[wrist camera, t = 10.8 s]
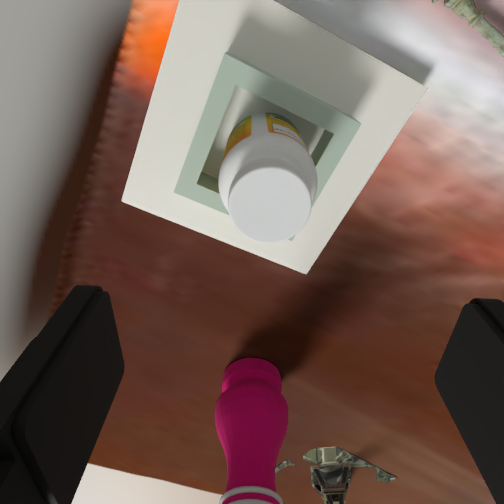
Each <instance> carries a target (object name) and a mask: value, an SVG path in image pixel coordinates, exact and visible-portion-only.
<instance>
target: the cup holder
mask: <svg viewBox="0 0 504 504" xmlns="http://www.w3.org/2000/svg"><path fill="white" fill-rule="evenodd" d="M427 89H428V88H427V87H425V86H424V85H422V84H420V83H418V82H417V81H415V80H413V79H411V78H410V77H408V76H406V75H404V74H403V73H401V72H399V71H397V70H395V69H394V68H392V67H390V66H388V65H387V64H385V63H383V62H381V61H380V60H378V59H376V58H374V57H373V56H371V55H369V54H367V53H366V52H364V51H362V50H360V49H358V48H357V47H355V46H353V45H351V44H350V43H348V42H346V41H344V40H343V39H341V38H339V37H337V36H336V35H334V34H332V33H330V32H328V31H327V30H325V29H323V28H321V27H320V26H318V25H316V24H314V23H313V22H311V21H309V20H307V19H306V18H304V17H302V16H300V15H299V14H297V13H295V12H293V11H291V10H290V9H288V8H286V7H284V6H283V5H281V4H279V3H277V2H276V1H274V0H180V1H179V4H178V8H177V11H176V15H175V18H174V21H173V25H172V28H171V32H170V35H169V39H168V42H167V46H166V49H165V52H164V56H163V59H162V63H161V66H160V70H159V73H158V77H157V80H156V83H155V87H154V90H153V94H152V97H151V101H150V104H149V108H148V111H147V114H146V118H145V121H144V125H143V128H142V132H141V135H140V139H139V142H138V145H137V149H136V152H135V156H134V159H133V163H132V166H131V170H130V173H129V176H128V180H127V183H126V187H125V190H124V194H123V197H122V202H124V203H127V204H129V205H132V206H134V207H137V208H139V209H142V210H144V211H147V212H149V213H152V214H154V215H157V216H160V217H162V218H165V219H167V220H170V221H172V222H175V223H177V224H180V225H182V226H185V227H187V228H190V229H192V230H195V231H197V232H200V233H203V234H205V235H208V236H210V237H213V238H215V239H218V240H220V241H223V242H225V243H228V244H230V245H233V246H235V247H238V248H240V249H243V250H246V251H248V252H251V253H253V254H256V255H258V256H261V257H263V258H266V259H268V260H271V261H273V262H276V263H278V264H281V265H283V266H286V267H289V268H291V269H294V270H296V271H299V272H301V273H304V274H307V273H308V271H309V270H310V268H311V267H312V265H313V264H314V262H315V261H316V259H317V257H318V256H319V254H320V253H321V251H322V250H323V248H324V247H325V245H326V244H327V242H328V241H329V239H330V238H331V236H332V235H333V233H334V231H335V230H336V228H337V227H338V225H339V224H340V222H341V221H342V219H343V218H344V216H345V215H346V213H347V212H348V210H349V208H350V207H351V205H352V204H353V202H354V201H355V199H356V198H357V196H358V195H359V193H360V192H361V190H362V189H363V187H364V185H365V184H366V182H367V181H368V179H369V178H370V176H371V175H372V173H373V172H374V170H375V169H376V167H377V166H378V164H379V163H380V161H381V159H382V158H383V156H384V155H385V153H386V152H387V150H388V149H389V147H390V146H391V144H392V143H393V141H394V140H395V138H396V136H397V135H398V133H399V132H400V130H401V129H402V127H403V126H404V124H405V123H406V121H407V120H408V118H409V117H410V115H411V114H412V112H413V110H414V109H415V107H416V106H417V104H418V103H419V101H420V100H421V98H422V97H423V95H424V94H425V92H426V91H427ZM259 112H271V113H276V114H279V115H281V116H283V117H285V118H287V119H288V120H289V121H290V122H292V124H293V125H294V126H295V127H296V128H297V130H298V131H299V133H300V135H301V137H302V139H303V141H304V143H305V145H306V147H307V149H308V152H309V154H310V156H311V158H312V160H313V162H314V165H315V168H316V172H317V178H318V186H317V193H316V196H315V199H314V202H313V204H312V208H311V213H310V216H309V219H308V221H307V223H306V224H305V226H304V227H303V228H302V229H301V230H300V231H299V232H298V233H297V234H296V235H294V236H293V237H291V238H289V239H287V240H284V241H281V242H277V243H261V242H256V241H253V240H251V239H249V238H247V237H245V236H244V235H243V234H241V233H240V232H239V231H238V230H237V229H236V228H235V226H234V225H233V223H232V221H231V219H230V216H229V212H228V211H227V209H226V208H225V206H224V204H223V202H222V200H221V197H220V193H219V186H218V183H219V172H220V168H221V164H222V160H223V156H224V152H225V148H226V144H227V141H228V138H229V135H230V133H231V132H232V130H233V129H234V127H235V126H236V125H237V124H238V123H239V122H240V121H241V120H243V119H244V118H246V117H247V116H249V115H252V114H255V113H259Z"/></svg>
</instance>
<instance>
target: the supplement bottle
mask: <svg viewBox="0 0 504 504" xmlns="http://www.w3.org/2000/svg"><path fill="white" fill-rule="evenodd" d="M218 186H219V193H220V197H221V200H222V202H223V204H224V206H225V208H226V209H227V211H228V212H229V216H230V219H231V221H232V223H233V225H234V226H235V228H236V229H237V230H238V231H239V232H240V233H241V234H243V235H244V236H245V237H247V238H249V239H251V240H253V241H256V242H261V243H277V242H281V241H284V240H287V239H289V238H291V237H293V236H294V235H296V234H297V233H298V232H299V231H300V230H301V229H302V228H303V227H304V226H305V224H306V223H307V221H308V219H309V216H310V213H311V208H312V204H313V202H314V199H315V196H316V193H317V186H318V178H317V172H316V168H315V165H314V162H313V160H312V158H311V156H310V154H309V152H308V149H307V147H306V145H305V143H304V141H303V139H302V137H301V135H300V133H299V131H298V130H297V128H296V127H295V126H294V125H293V124H292V122H290V121H289V120H288V119H287V118H285V117H283V116H281V115H279V114H276V113H271V112H259V113H255V114H252V115H249V116H247V117H246V118H244V119H243V120H241V121H240V122H239V123H238V124H237V125H236V126H235V127H234V129H233V130H232V132H231V133H230V135H229V138H228V141H227V144H226V148H225V152H224V156H223V160H222V164H221V168H220V172H219V183H218Z"/></svg>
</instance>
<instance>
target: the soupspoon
mask: <svg viewBox="0 0 504 504" xmlns="http://www.w3.org/2000/svg"><path fill="white" fill-rule="evenodd" d="M436 1H438V0H432V3H435V2H436ZM444 6H446V7H449V8H452V9H453V11H454V12H455V13H456V14H457V15H458V16H459V17H460V18H465V19H467V20H468V22H469V26H470V27H474V28H476V29H477V30H478V31H479V32H480V33H481V34H482V35H483V36H484V37H485V38H486V39H487V40H488V41H489V42H490V44H491V45H492V46H493V47H494V48H495V49H496V50H497V51H498V52H500V54H501V55H502V56H503V57H504V35H503V34H502V33H501V32H500V31H499V30H497V29H496V28H495V27H494V26H493V25H492V24H490V23H489V22H488V21H487V20H486V19H485V17H484V14H485V12H484V11H483V10H481V11H479V10H477V9H476V7H475V4H474V1H473V0H444Z"/></svg>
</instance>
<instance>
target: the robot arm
mask: <svg viewBox="0 0 504 504" xmlns="http://www.w3.org/2000/svg"><path fill="white" fill-rule="evenodd" d="M123 373H124V360H123V355H122V351H121V346H120V342H119V337H118V332H117V328H116V323H115V319H114V314H113V309H112V305H111V300H110V296H109V293H108V292H103V290H102V288H101V287H100V286H89V285H77V286H75V287H74V288H73V289H72V291H71V292H70V293H69V295H68V296H67V297H66V299H65V300H64V301H63V302H62V304H61V305H60V306H59V308H58V309H57V310H56V312H55V313H54V314H53V316H52V317H51V318H50V320H49V321H48V322H47V324H46V325H45V326H44V328H43V329H42V331H41V332H40V333H39V334H38V336H37V337H35V338H34V339H33V340H32V341H31V342H30V343H29V345H28V346H27V347H26V349H25V350H24V351H23V353H22V354H21V355H20V357H19V358H18V359H17V361H16V362H15V364H14V365H13V366H12V367H11V369H10V370H9V371H8V373H7V374H6V375H5V376H4V378H3V379H2V380H1V382H0V504H71V503H72V500H73V498H74V495H75V493H76V490H77V488H78V485H79V483H80V480H81V478H82V476H83V473H84V471H85V468H86V466H87V463H88V461H89V458H90V456H91V453H92V451H93V448H94V446H95V444H96V441H97V439H98V436H99V434H100V431H101V429H102V426H103V424H104V421H105V419H106V416H107V414H108V411H109V409H110V407H111V404H112V402H113V399H114V397H115V394H116V392H117V389H118V387H119V384H120V382H121V379H122V377H123ZM435 384H436V387H437V389H438V391H439V393H440V395H441V397H442V399H443V401H444V403H445V405H446V407H447V408H448V410H449V412H450V414H451V416H452V418H453V420H454V422H455V424H456V426H457V428H458V430H459V432H460V434H461V436H462V438H463V440H464V442H465V443H466V445H467V447H468V449H469V451H470V453H471V455H472V457H473V459H474V461H475V463H476V465H477V467H478V469H479V471H480V473H481V475H482V477H483V478H484V480H485V482H486V484H487V486H488V488H489V490H490V492H491V494H492V496H493V498H494V500H495V502H496V504H504V303H503V302H502V301H501V300H499V299H483V298H475V299H472V300H471V301H470V303H469V304H466V305H464V307H463V309H462V311H461V313H460V316H459V318H458V320H457V323H456V325H455V328H454V330H453V332H452V335H451V337H450V339H449V342H448V344H447V347H446V349H445V351H444V354H443V356H442V358H441V361H440V363H439V366H438V368H437V370H436V373H435Z"/></svg>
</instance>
